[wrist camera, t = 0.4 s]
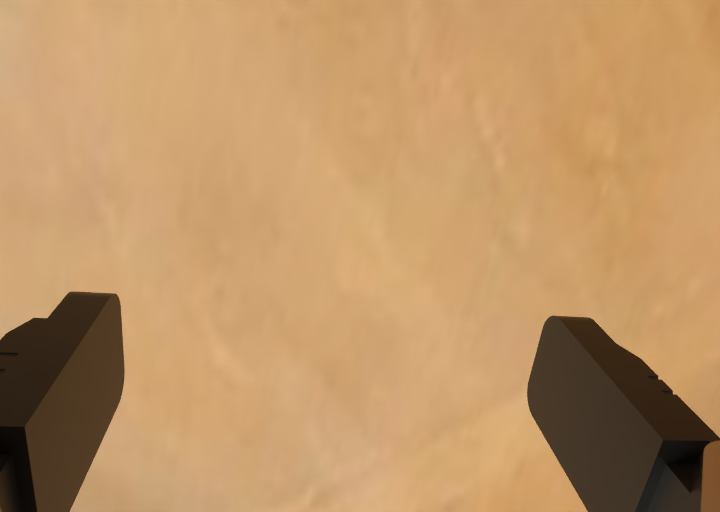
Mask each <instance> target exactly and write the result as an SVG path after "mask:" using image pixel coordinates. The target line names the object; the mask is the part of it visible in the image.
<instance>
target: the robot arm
mask: <svg viewBox="0 0 720 512" xmlns="http://www.w3.org/2000/svg"><path fill="white" fill-rule="evenodd" d="M123 384H124V354H123V337H122V321H121V306H120V300H119V297H118V296H117V294H112V293H92V292H69V293H68V294H67V295H66V296H65V298H64V299H63V300H62V301H61V302H60V304H59V305H58V306H57V307H56V309H55V310H54V311H53V312H52V313H51V315H50V316H49V317H48V318H33V319H31V320H30V321H28V322H26V323H24V324H22V325H21V326H19V327H17V328H15V329H13V330H12V331H10V332H8V333H6V334H5V336H4V337H3V338H2V339H1V340H0V512H70V509H71V507H72V505H73V503H74V501H75V498H76V496H77V494H78V492H79V490H80V488H81V485H82V483H83V481H84V479H85V477H86V474H87V472H88V470H89V468H90V466H91V464H92V461H93V459H94V457H95V455H96V453H97V450H98V448H99V446H100V444H101V442H102V440H103V437H104V435H105V433H106V431H107V429H108V426H109V424H110V422H111V420H112V418H113V416H114V413H115V411H116V409H117V407H118V404H119V402H120V399H121V395H122V390H123ZM527 397H528V405H529V409H530V412H531V414H532V416H533V418H534V420H535V421H536V423H537V425H538V427H539V428H540V430H541V432H542V433H543V435H544V437H545V439H546V440H547V442H548V444H549V445H550V447H551V449H552V451H553V452H554V454H555V456H556V457H557V459H558V461H559V463H560V464H561V466H562V468H563V469H564V471H565V473H566V475H567V476H568V478H569V480H570V481H571V483H572V485H573V487H574V488H575V490H576V492H577V493H578V495H579V497H580V499H581V500H582V502H583V504H584V505H585V507H586V509H587V511H588V512H720V438H719V437H718V436H717V435H716V434H715V433H714V432H713V431H712V430H711V429H710V428H709V427H708V426H707V425H706V424H705V423H704V422H703V421H702V420H701V419H700V418H699V417H698V416H697V415H696V414H695V413H694V412H693V411H692V410H691V409H690V408H689V407H688V406H687V405H686V404H685V403H684V402H683V401H682V400H681V399H680V398H679V397H678V396H677V395H673V391H672V390H671V389H670V388H669V387H668V386H667V385H666V384H665V383H664V382H663V381H662V380H658V376H657V375H656V374H655V373H654V372H653V371H652V370H651V369H650V367H649V366H648V365H647V364H646V363H645V362H644V361H643V360H642V359H640V358H639V357H637V356H635V355H634V354H632V353H631V352H629V351H627V350H626V349H624V348H623V347H621V346H619V345H618V344H616V343H615V342H614V341H613V340H612V339H611V338H610V337H609V336H608V335H607V334H606V333H605V331H604V330H603V329H602V328H601V327H600V326H599V325H598V324H597V323H596V322H595V321H594V320H593V319H591V318H586V317H566V316H551V317H549V318H548V319H547V320H546V322H545V324H544V326H543V329H542V333H541V337H540V341H539V344H538V348H537V352H536V356H535V359H534V363H533V367H532V371H531V374H530V378H529V382H528V390H527Z"/></svg>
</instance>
